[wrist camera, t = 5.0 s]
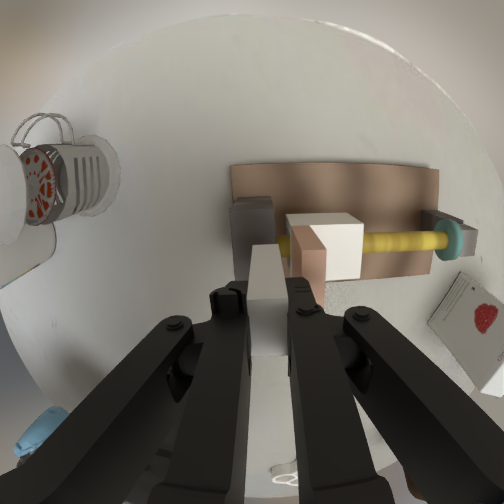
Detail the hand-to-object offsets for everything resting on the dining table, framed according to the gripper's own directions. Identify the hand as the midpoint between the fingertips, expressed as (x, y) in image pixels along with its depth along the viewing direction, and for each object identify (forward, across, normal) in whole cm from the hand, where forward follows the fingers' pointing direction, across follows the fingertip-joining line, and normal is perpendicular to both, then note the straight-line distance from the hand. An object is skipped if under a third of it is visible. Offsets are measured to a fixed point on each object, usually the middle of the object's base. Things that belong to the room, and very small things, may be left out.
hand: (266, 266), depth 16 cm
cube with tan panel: (+6, -4, 0) cm, 7 cm away
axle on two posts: (+12, -8, 0) cm, 15 cm away
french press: (+12, +20, -8) cm, 25 cm away
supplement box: (+12, -28, +13) cm, 33 cm away
